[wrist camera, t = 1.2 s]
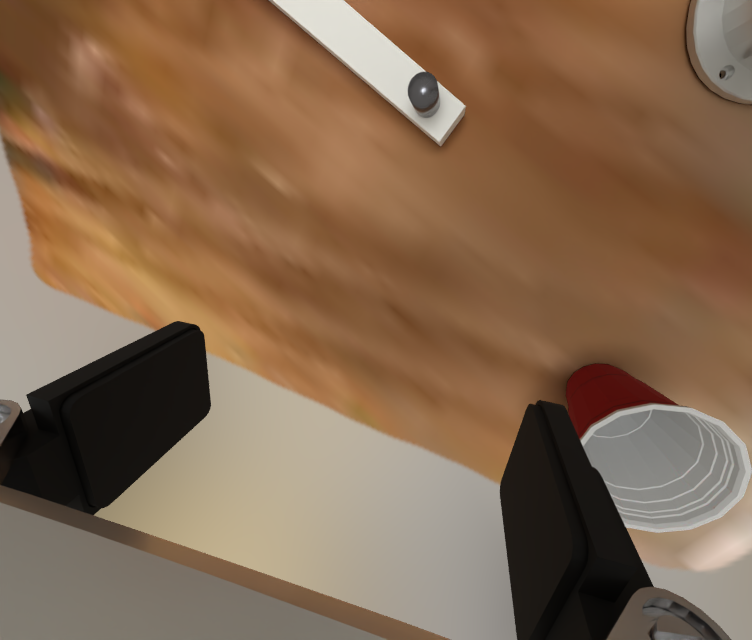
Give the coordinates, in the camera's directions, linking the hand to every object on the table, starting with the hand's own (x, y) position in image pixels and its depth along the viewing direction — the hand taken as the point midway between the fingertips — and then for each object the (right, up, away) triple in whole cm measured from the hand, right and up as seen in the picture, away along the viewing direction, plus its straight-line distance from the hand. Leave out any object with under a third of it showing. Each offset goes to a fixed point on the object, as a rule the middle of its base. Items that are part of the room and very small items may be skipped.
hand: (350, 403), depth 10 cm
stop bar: (-3, +27, +19) cm, 33 cm away
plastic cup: (+23, -4, +26) cm, 35 cm away
